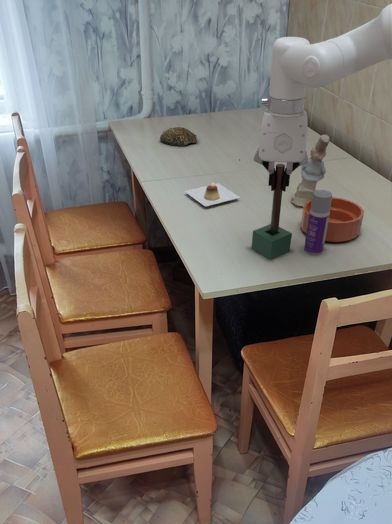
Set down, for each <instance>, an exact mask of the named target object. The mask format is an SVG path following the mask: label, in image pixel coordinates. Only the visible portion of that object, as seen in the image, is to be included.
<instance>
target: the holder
mask: <svg viewBox="0 0 392 524" xmlns="http://www.w3.org/2000/svg"><path fill="white" fill-rule="evenodd" d="M270 227H271V223H269V224H267V225H264V226H261V227H259V228H257V229H255V230H252V237H251V250H253V251H254V252H256V253H258V254H260V255H261V256H262V257H264V258H266V259H268V260H273V259H275V258H277V257H280V256H282V255H284V254H286V253H289V252H291V244H292V236H293V233H292V232H290V231H289V230H287V229H285V228H283V227H281V226H279V230H278V231H276V232H273V231H271V230H270Z"/></svg>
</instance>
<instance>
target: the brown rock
mask: <svg viewBox="0 0 392 524" xmlns="http://www.w3.org/2000/svg"><path fill="white" fill-rule="evenodd" d="M159 140H160V141H161V142H162V143H163V144H167V145H170V146H174V147H175V146H178V147H186V146H187V145H189V144H197V142H198V139H197V134H195V133H193V132H192V131H191V130H189V129H188V128H185V127H181V126H174V127H169V128H168V129H166V130H164V131H163V132H162V134H161V135H160V136H159Z"/></svg>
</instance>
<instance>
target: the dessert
mask: <svg viewBox="0 0 392 524" xmlns="http://www.w3.org/2000/svg"><path fill="white" fill-rule="evenodd" d="M183 191H184V193H185V194H187V195H188V196H190V197H191V198H193V199H194V200H195V201H197V202H198V203H199V204H201V205H202V206H204V207H206V208H208V207H211V206H216V205H219V204H224V203H229V202H231V201H235V200H237V199H240V198H241V196H239V195H237V194H235V193H234V192H233V191H231V190H229V189H228V188H226V187H225V186H224V185H222V184H221V183H219V182H217V183H215V182H214V181H212V182H211V183H210V184H208V185H205V186H200V187H196V188H192V189H187V190H183Z"/></svg>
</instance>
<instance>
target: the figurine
mask: <svg viewBox="0 0 392 524" xmlns="http://www.w3.org/2000/svg"><path fill="white" fill-rule="evenodd" d="M330 139H331V138H330V136H329V135H328V134H322V135H320V137H319V138H318V140H317V142H315V144H314V145H313V146H312V148H311V149H310V153H309V154H310V157H308V160H309V162H308V163H307V164H304V165H302V166H301V171H300V176H301V182H299V183H298V185H297V187H296V192H294V193H293V194H292V196H291V202H292V203H293V204H294V205H295V206H298V207H302V208H303V207H304V204H305V203H306V202H307V201H309V200H311V199H312V197H313V192H314V191H316V190H317V189H316V188H317V183H318V182H319V181H322V180H323V179H324V178H325V175H326V172H327V169H326V166H325V162H324V161H323V160H324V158H326V156H327V147H328V146H329V144H330Z"/></svg>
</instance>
